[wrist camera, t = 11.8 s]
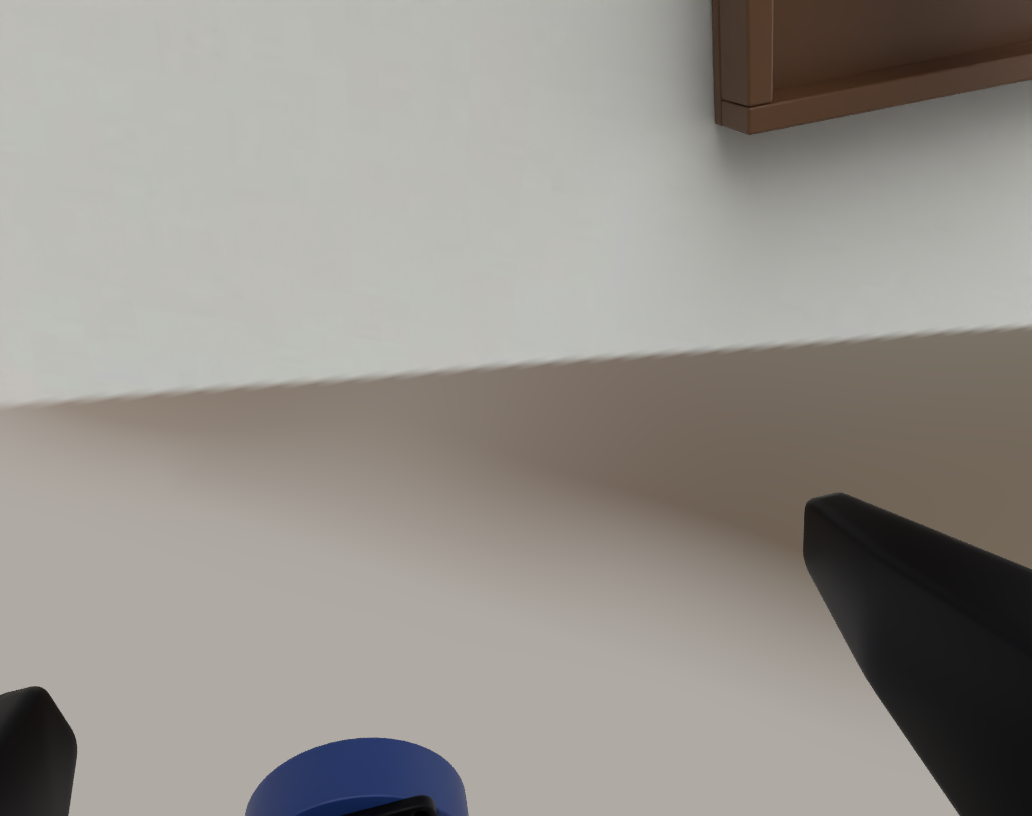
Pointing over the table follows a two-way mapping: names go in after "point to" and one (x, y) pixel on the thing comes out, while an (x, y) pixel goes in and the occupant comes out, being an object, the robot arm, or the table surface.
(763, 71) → the tray
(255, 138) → the table surface
